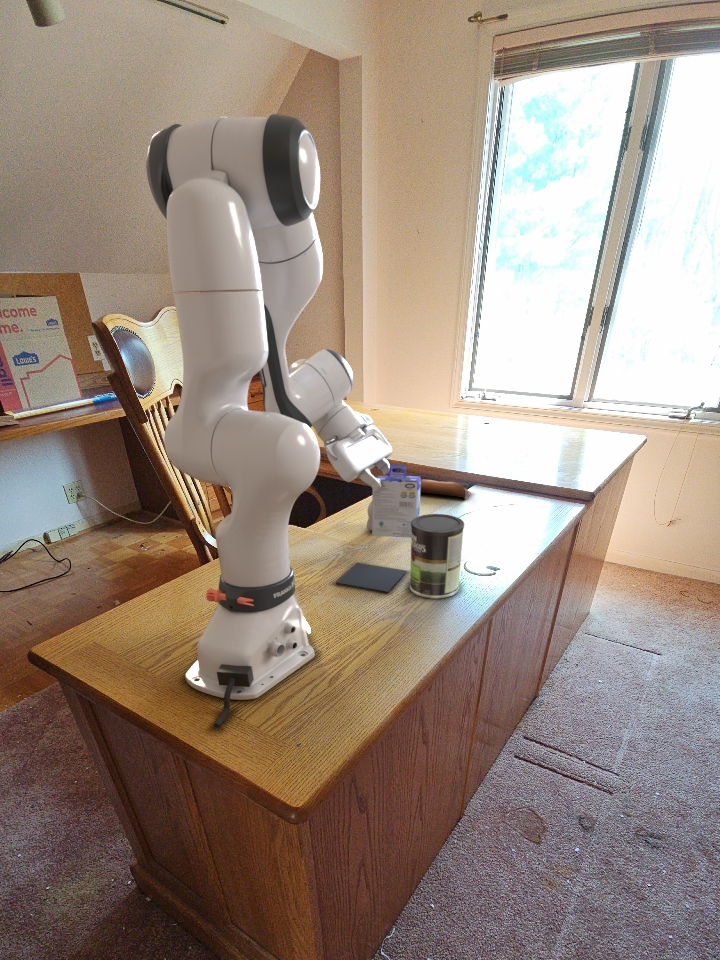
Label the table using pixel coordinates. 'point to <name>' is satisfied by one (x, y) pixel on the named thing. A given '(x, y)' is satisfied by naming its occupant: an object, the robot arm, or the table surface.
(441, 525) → the coffee can
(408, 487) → the ink cartridge box
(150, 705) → the table surface
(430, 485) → the sunglasses case
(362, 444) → the robot arm
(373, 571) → the coaster
